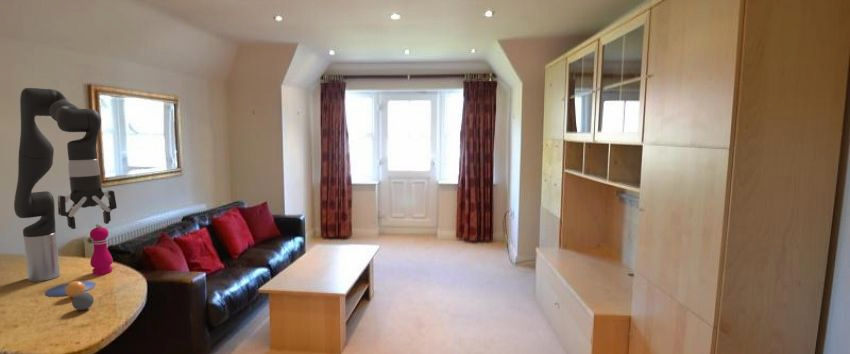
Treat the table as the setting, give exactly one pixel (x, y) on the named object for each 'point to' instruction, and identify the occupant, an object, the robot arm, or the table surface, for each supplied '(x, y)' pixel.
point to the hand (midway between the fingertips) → (90, 226)
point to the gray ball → (82, 301)
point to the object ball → (74, 288)
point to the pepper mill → (100, 251)
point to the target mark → (61, 288)
